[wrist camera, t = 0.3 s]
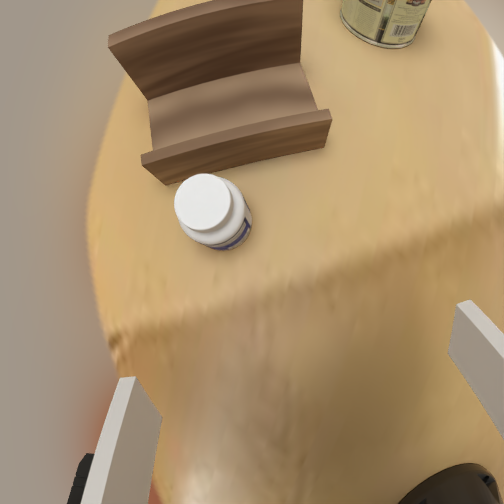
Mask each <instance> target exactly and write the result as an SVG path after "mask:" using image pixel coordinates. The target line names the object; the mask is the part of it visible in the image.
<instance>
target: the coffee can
mask: <svg viewBox="0 0 504 504" xmlns="http://www.w3.org/2000/svg"><path fill="white" fill-rule="evenodd" d="M430 3H431V0H343V2H342V7H341V10H340V17H341V20H342V22H343V24H344V25H345V26H346V28H347V29H348V30H349V31H350V32H352V33H353V34H354V35H356V36H357V37H358V38H360V39H362V40H364V41H366V42H368V43H370V44H373V45H376V46H379V47H384V48H402V47H406V46H408V45H409V44H411V43H412V42H413V41H414V39H415V36H416V33H417V31H418V29H419V27H420V25H421V22H422V20H423V18H424V16H425V14H426V11H427V9H428V7H429V5H430Z"/></svg>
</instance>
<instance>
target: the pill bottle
mask: <svg viewBox="0 0 504 504" xmlns="http://www.w3.org/2000/svg"><path fill="white" fill-rule="evenodd" d="M174 208H175V212H176V215H177V217H178V220H179V223H180V226H181V227H182V229H183V231H184V232H185V233H186V234H187V235H188V236H189V237H190V238H192V239H193V240H195V241H196V242H199V243H201V244H203V245H205V246H208V247H210V248H212V249H215V250H222V251H225V250H231V249H234V248H236V247H238V246H239V245H241V244H242V243H243V242H244V241H245V240H246V238H247V237H248V235H249V233H250V230H251V226H252V217H251V212H250V210H249V208H248V206H247V203H246V201H245V199H244V197H243V195H242V193H241V192H240V190H239V189H238V188H237V186H236V185H234V184H233V183H232V182H230V181H229V180H227V179H224V178H221V177H217V176H215V175H212V174H197V175H194V176H192V177H190V178H188V179H187V180H185V181H184V182H183V183H182V184H181V185H180V187H179V188H178V190H177V192H176V195H175V199H174Z"/></svg>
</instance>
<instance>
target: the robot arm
mask: <svg viewBox="0 0 504 504" xmlns="http://www.w3.org/2000/svg"><path fill="white" fill-rule="evenodd" d="M448 355H449V356H450V357H451V359H452V360H453V362H454V363H455V365H456V366H457V367H458V369H459V370H460V372H461V373H462V375H463V376H464V378H465V379H466V381H467V382H468V384H469V385H470V387H471V388H472V390H473V391H474V393H475V394H476V396H477V397H478V399H479V400H480V402H481V403H482V405H483V407H484V408H485V410H486V411H487V413H488V415H489V416H490V418H491V419H492V421H493V423H494V424H495V426H496V428H497V429H498V431H499V433H500V434H501V436H502V438H503V439H504V334H503V333H502V332H501V331H500V330H499V329H498V328H497V327H496V325H495V324H494V323H493V322H492V321H491V320H490V319H489V318H488V317H487V316H486V315H485V314H484V313H483V312H482V311H481V310H480V309H479V308H478V307H477V306H476V305H475V304H474V303H473V302H472V301H471V300H467V301H464V302H462V303H459V304H456V309H455V316H454V322H453V328H452V334H451V339H450V344H449V349H448ZM161 422H162V416H161V415H160V413H159V412H158V410H157V409H156V407H155V406H154V404H153V403H152V401H151V400H150V398H149V396H148V395H147V393H146V392H145V390H144V389H143V387H142V385H141V384H140V382H139V381H138V379H137V377H125V378H120V379H119V382H118V385H117V388H116V391H115V394H114V396H113V400H112V402H111V405H110V408H109V411H108V414H107V417H106V420H105V423H104V426H103V429H102V432H101V435H100V439H99V442H98V445H97V448H96V451H95V454H89V453H87V454H86V455H85V456H84V458H83V459H82V460H81V462H80V463H79V466H78V469H77V472H76V477H75V478H74V482H73V486H72V488H71V492H70V495H69V499H68V502H67V504H148V498H149V491H150V485H151V479H152V473H153V467H154V461H155V455H156V449H157V444H158V438H159V433H160V427H161ZM399 504H503V501H502V498H501V495H500V492H499V489H498V486H497V483H496V480H495V478H494V477H493V475H492V474H491V473H489V472H488V471H487V470H486V469H485V468H484V467H482V466H480V465H477V464H462V465H458V466H454V467H451V468H449V469H446V470H444V471H442V472H440V473H438V474H436V475H434V476H432V477H431V478H429V479H427V480H426V481H424V482H423V483H421V484H420V485H419V486H417V487H416V488H415V489H414V490H412V491H411V492H410V493H409V494H408V495H407V496H406V497H405V498H404V499H403V500H402V501H401V502H400V503H399Z"/></svg>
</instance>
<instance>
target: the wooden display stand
mask: <svg viewBox="0 0 504 504" xmlns="http://www.w3.org/2000/svg"><path fill="white" fill-rule="evenodd" d="M302 13H303V0H213V1H209V2H205V3H201V4H197V5H193V6H190V7H186V8H183V9H179V10H176V11H173V12H170V13H167V14H164V15H161V16H158V17H155V18H152V19H149V20H146V21H143V22H141V23H138V24H135V25H133V26H130V27H128V28H125V29H123V30H120V31H118V32H116V33H113V34H111V35H109V39H108V48H109V49H110V51H111V52H112V53H113V55H114V56H115V57H116V59H117V60H118V61H119V63H120V64H121V65H122V67H123V68H124V69H125V71H126V72H127V73H128V75H129V76H130V77H131V79H132V80H133V81H134V83H135V84H136V85H137V87H138V88H139V89H140V91H141V92H142V93H143V95H144V96H145V98H146V99H147V100H148V108H149V118H150V128H151V137H152V146H153V151H151V152H148V153H145V154H142V155H141V162H142V166H143V167H144V168H146V169H147V170H148V171H149V172H150V173H151V174H153V175H154V176H155V177H156V178H157V179H159V180H160V181H161V182H162V183H163V184H165V185H169V184H172V183H175V182H179V181H183V180H186V179H188V178H190V177H192V176H194V175H197V174H208V173H212V172H216V171H220V170H224V169H228V168H232V167H236V166H240V165H244V164H248V163H253V162H257V161H261V160H266V159H270V158H275V157H279V156H284V155H289V154H293V153H298V152H303V151H308V150H313V149H318V148H324V146H325V143H326V139H327V136H328V132H329V129H330V125H331V122H332V117H331V114H330V111H329V109H324V110H318V109H317V106H316V103H315V100H314V98H313V95H312V92H311V90H310V87H309V84H308V82H307V79H306V76H305V74H304V71H303V69H302V66H301V64H300V54H301V35H302Z"/></svg>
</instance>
